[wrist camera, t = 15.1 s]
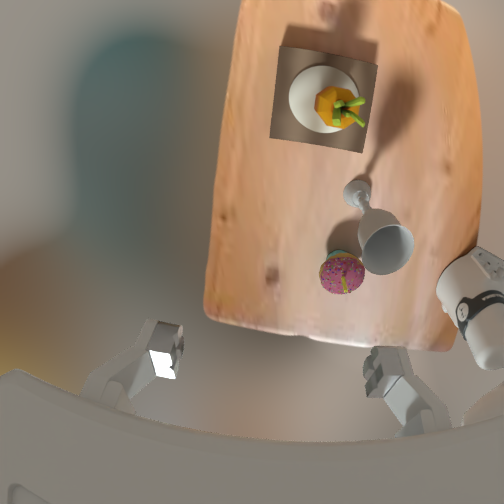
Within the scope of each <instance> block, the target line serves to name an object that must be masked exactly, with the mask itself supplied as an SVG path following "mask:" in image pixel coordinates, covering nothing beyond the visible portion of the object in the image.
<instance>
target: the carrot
mask: <svg viewBox="0 0 504 504" xmlns="http://www.w3.org/2000/svg"><path fill="white" fill-rule="evenodd" d="M364 103H365V98H364V97H357V98H356V97H355V96H354V95H353V93H352V92H351V90H349V89H345V88H340V87H335V86H328V87H326V88H325V89H323V90H322V91H320V92H319V93H317V94H316V98H315V105H314V110H315V111H316V112H317V114H318V115H319V116H320V118H321V119H322V120H323V122H324V123H325V124H326V126H331V127H336V128H341V129H345V128H346V127H348V126H349V125H351V124H352V123H354V122H355V121H356V122H357V123H358V124H359V125H360V126H362V127H364V126H365V121H364V120H363V119H362V118H360V117H359V116H358V114H359V108H360V105H362V104H364Z"/></svg>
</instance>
